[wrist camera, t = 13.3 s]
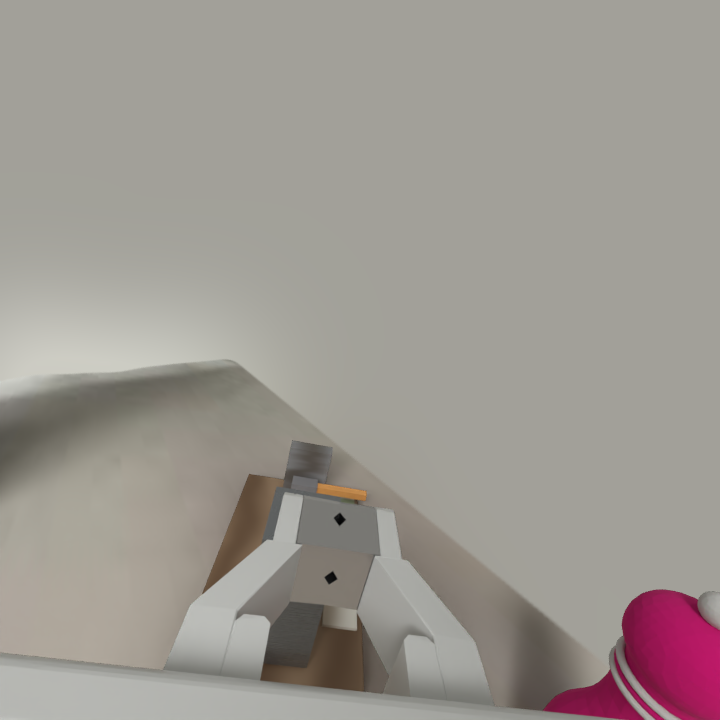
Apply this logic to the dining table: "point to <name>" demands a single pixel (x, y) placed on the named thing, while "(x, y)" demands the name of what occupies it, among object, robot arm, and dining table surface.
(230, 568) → the gauge bench
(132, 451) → the dining table surface
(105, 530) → the dining table surface
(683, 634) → the pepper mill
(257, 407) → the dining table surface
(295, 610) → the brushed steel block
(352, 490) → the wood and grey stick
